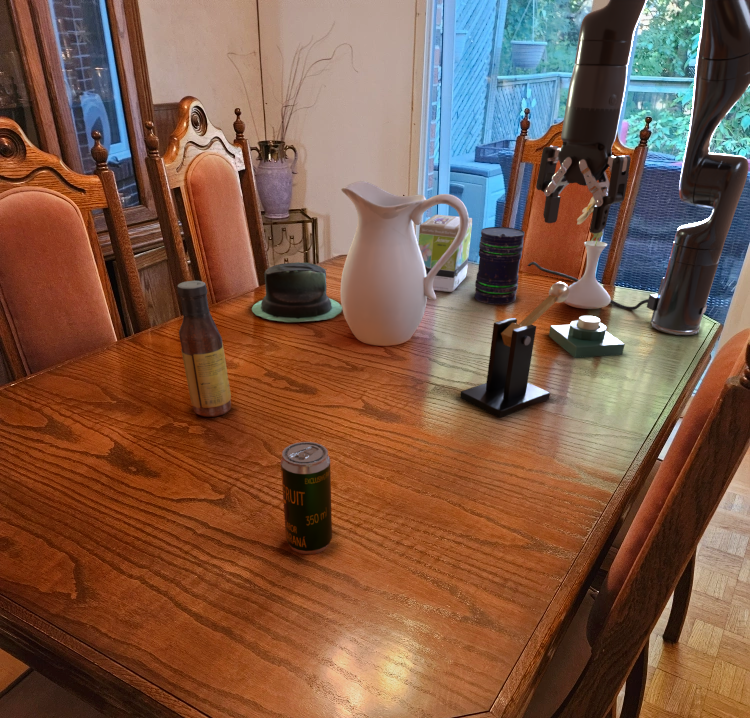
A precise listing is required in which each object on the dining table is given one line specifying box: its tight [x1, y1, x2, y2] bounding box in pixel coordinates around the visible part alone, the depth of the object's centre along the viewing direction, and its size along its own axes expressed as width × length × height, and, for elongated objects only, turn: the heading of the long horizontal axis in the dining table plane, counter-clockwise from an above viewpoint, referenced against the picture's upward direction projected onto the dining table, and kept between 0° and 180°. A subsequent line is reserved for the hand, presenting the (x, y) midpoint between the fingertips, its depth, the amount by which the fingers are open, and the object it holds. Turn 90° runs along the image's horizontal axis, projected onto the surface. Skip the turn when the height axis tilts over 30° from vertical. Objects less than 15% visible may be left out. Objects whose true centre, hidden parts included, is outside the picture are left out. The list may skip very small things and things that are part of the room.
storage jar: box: [474, 226, 525, 305], centre depth 153 cm, size 10×10×15 cm
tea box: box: [418, 214, 473, 293], centre depth 163 cm, size 15×10×15 cm, turn 161°
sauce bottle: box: [176, 280, 232, 418], centre depth 100 cm, size 7×6×20 cm
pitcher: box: [339, 180, 470, 347], centre depth 126 cm, size 24×17×28 cm
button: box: [578, 315, 601, 330], centre depth 130 cm, size 4×4×2 cm
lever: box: [501, 281, 569, 347], centre depth 106 cm, size 14×3×3 cm, turn 127°
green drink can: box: [280, 441, 333, 555], centre depth 75 cm, size 5×5×12 cm
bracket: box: [459, 317, 551, 419], centre depth 108 cm, size 12×9×13 cm
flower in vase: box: [562, 196, 612, 310], centre depth 146 cm, size 13×11×25 cm
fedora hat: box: [251, 261, 343, 323], centre depth 146 cm, size 15×19×20 cm
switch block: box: [548, 319, 626, 359], centre depth 132 cm, size 12×10×4 cm
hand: (572, 227), depth 101 cm, fingers open, 8 cm apart
